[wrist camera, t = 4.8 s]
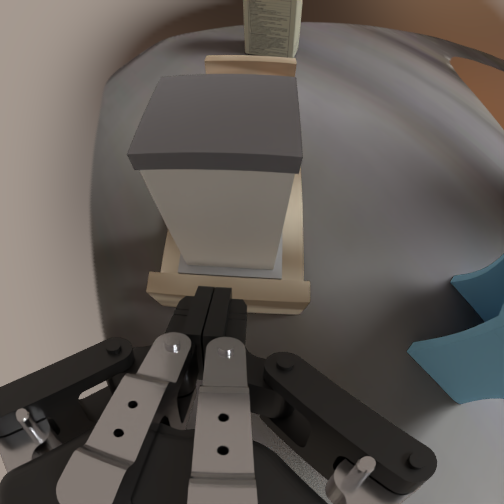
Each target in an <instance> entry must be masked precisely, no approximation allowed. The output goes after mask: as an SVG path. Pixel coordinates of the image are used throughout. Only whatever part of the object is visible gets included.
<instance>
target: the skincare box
mask: <svg viewBox="0 0 504 504" xmlns="http://www.w3.org/2000/svg"><path fill="white" fill-rule="evenodd" d="M243 6H244V7H243V8H244V37H245V53H246V54H254V55H262V56H272V57H286V58H294V56H295V54H296V52H297V49H298V44H299V34H300V22H301V11H302V0H243Z"/></svg>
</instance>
